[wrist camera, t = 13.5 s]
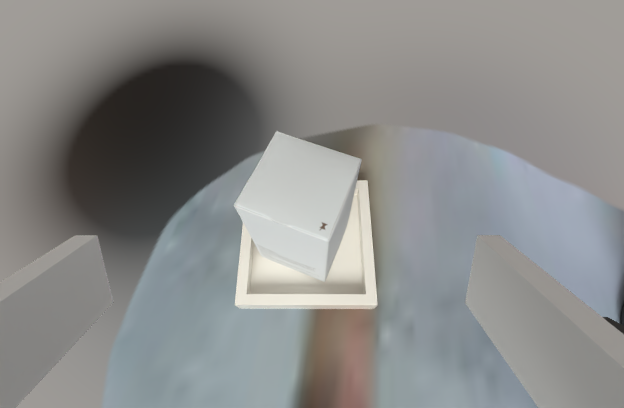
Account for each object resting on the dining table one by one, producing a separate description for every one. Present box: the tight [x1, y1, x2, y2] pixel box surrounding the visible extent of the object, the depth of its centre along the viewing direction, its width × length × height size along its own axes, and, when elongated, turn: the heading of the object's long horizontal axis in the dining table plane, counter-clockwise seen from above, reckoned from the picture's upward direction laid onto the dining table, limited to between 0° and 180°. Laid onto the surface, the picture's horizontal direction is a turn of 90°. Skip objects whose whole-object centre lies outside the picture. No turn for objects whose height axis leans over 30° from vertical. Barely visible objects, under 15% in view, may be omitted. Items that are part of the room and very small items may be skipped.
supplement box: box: [234, 131, 361, 282], centre depth 36 cm, size 9×9×15 cm
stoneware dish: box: [235, 180, 377, 309], centre depth 42 cm, size 16×16×3 cm
